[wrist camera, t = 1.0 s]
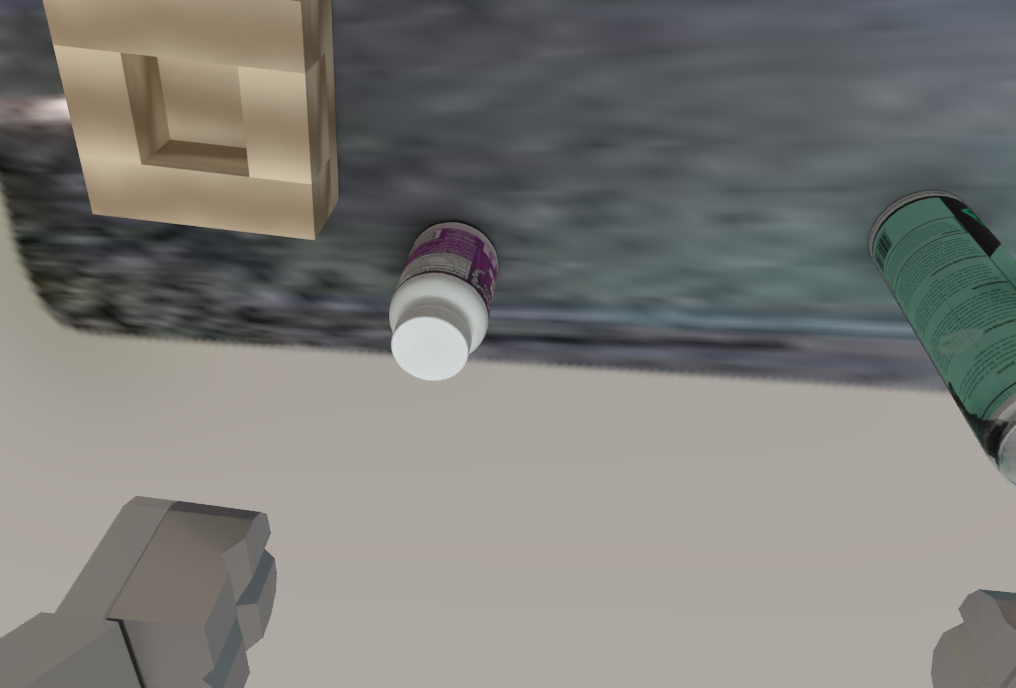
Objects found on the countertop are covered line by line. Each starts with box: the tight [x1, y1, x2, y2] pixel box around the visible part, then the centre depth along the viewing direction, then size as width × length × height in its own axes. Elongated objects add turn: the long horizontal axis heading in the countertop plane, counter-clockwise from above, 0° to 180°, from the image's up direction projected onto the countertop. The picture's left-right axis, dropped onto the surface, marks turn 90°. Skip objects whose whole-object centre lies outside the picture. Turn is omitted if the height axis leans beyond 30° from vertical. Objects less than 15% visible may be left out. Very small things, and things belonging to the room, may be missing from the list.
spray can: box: [869, 191, 1016, 488], centre depth 37 cm, size 6×6×20 cm
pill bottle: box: [389, 222, 498, 381], centre depth 45 cm, size 5×5×10 cm
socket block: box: [43, 0, 339, 240], centre depth 41 cm, size 12×12×5 cm
